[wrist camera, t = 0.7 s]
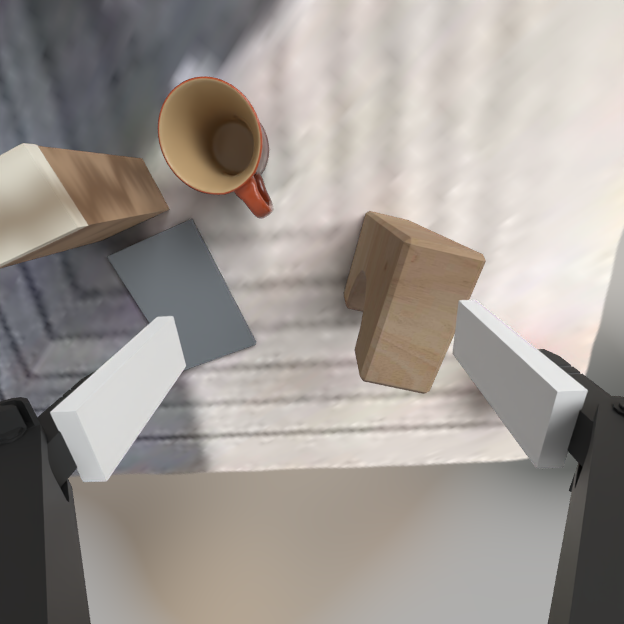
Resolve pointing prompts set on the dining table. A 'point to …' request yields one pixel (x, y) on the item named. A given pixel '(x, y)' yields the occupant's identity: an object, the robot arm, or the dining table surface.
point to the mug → (215, 141)
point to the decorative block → (407, 299)
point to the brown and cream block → (69, 199)
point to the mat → (184, 292)
